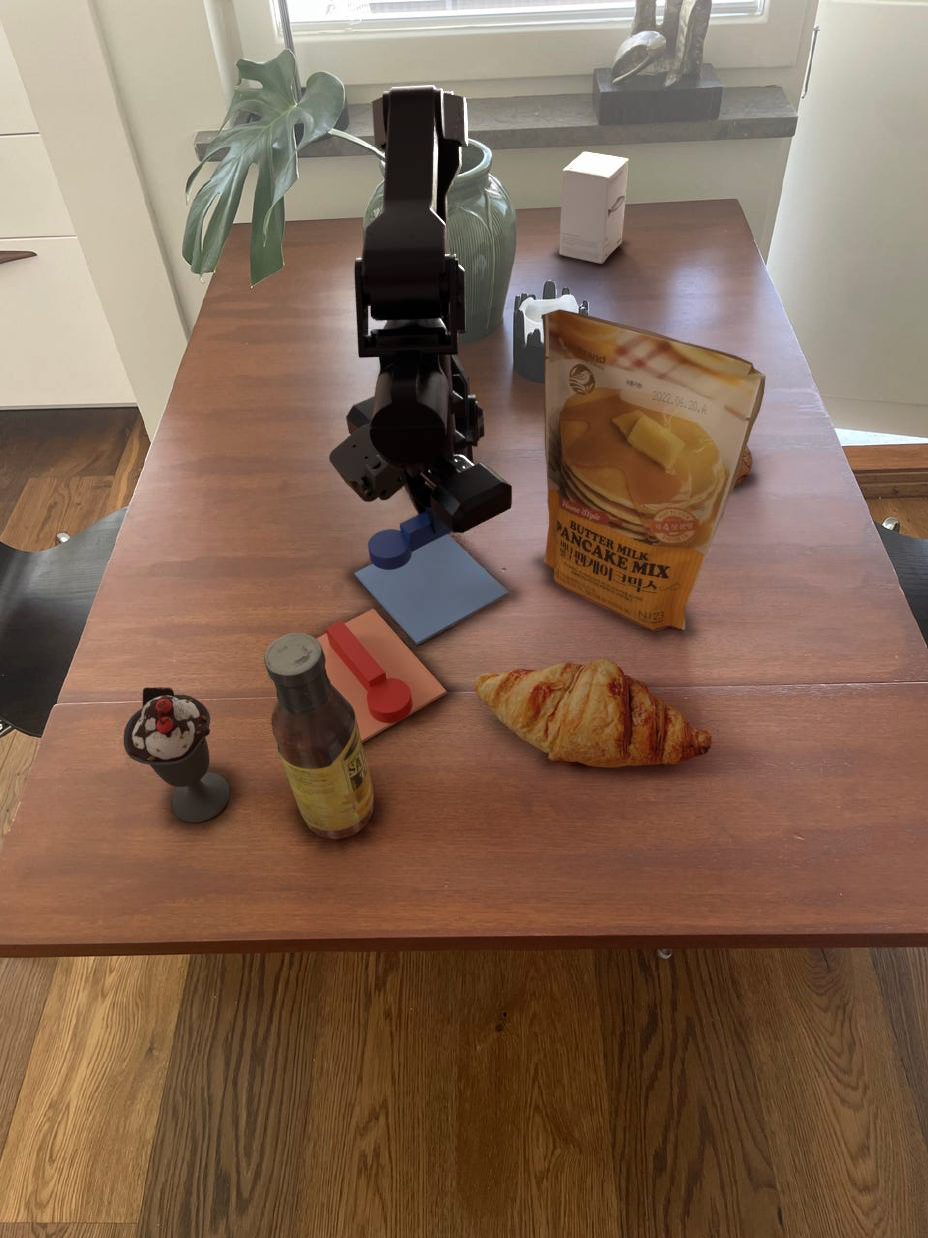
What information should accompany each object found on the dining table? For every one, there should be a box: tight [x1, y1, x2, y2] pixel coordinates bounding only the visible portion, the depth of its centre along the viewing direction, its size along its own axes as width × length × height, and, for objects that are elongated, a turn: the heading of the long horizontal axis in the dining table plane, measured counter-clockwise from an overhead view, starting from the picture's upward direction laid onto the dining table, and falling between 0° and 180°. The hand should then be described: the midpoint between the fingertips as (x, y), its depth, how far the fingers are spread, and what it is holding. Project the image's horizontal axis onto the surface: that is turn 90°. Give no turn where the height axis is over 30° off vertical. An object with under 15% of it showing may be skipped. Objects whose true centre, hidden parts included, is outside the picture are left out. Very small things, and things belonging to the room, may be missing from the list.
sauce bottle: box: [263, 632, 375, 840], centre depth 70 cm, size 6×6×20 cm
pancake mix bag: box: [540, 308, 766, 633], centre depth 82 cm, size 7×19×28 cm, turn 52°
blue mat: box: [354, 533, 510, 646], centre depth 94 cm, size 11×12×1 cm
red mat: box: [316, 608, 447, 744], centre depth 87 cm, size 10×13×1 cm
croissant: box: [474, 657, 713, 768], centre depth 79 cm, size 21×10×8 cm, turn 69°
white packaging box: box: [558, 151, 629, 265], centre depth 135 cm, size 7×7×13 cm
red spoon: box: [325, 620, 413, 724], centre depth 85 cm, size 12×4×2 cm, turn 35°
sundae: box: [123, 686, 231, 824], centre depth 73 cm, size 7×7×15 cm
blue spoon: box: [367, 511, 453, 570], centre depth 88 cm, size 12×4×2 cm, turn 125°
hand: (432, 525), depth 89 cm, fingers closed on blue spoon, 2 cm apart
